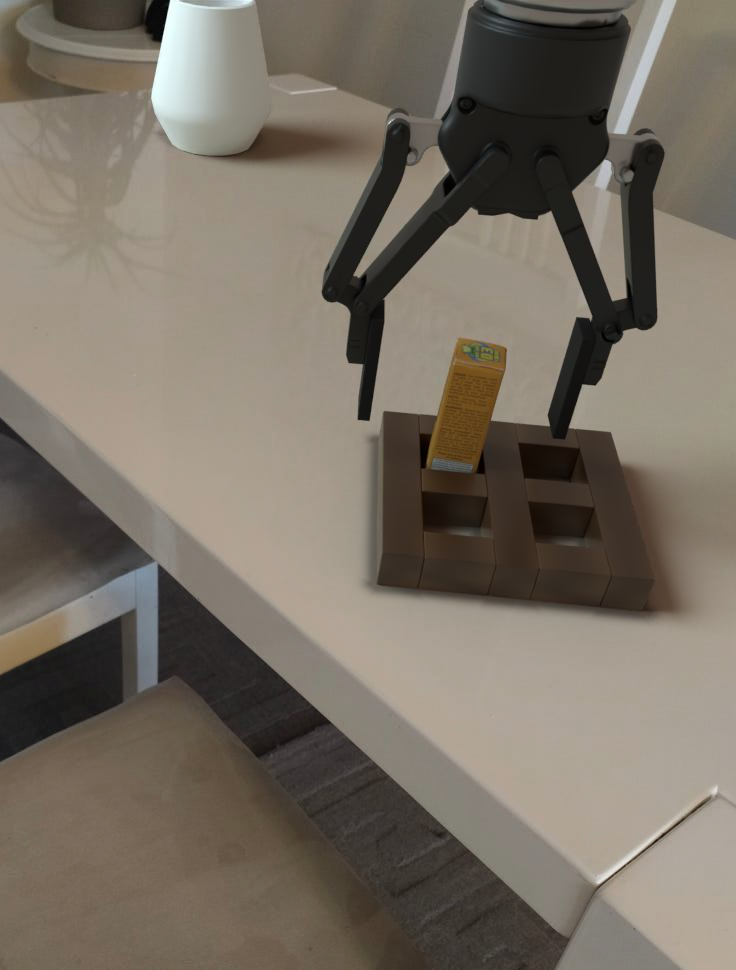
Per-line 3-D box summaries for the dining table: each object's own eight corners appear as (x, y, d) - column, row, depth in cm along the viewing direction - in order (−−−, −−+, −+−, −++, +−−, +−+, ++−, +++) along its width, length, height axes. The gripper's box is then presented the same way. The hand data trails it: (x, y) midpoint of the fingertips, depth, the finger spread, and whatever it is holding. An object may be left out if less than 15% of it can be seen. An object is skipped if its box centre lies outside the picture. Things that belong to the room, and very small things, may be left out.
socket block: (598, 469, 67) (611, 431, 65) (638, 619, 56) (655, 580, 54) (377, 448, 67) (383, 410, 65) (374, 592, 57) (381, 553, 54)
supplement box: (471, 510, 63) (507, 369, 56) (418, 501, 63) (447, 361, 56) (473, 481, 65) (508, 343, 58) (422, 473, 65) (450, 334, 58)
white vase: (127, 136, 110) (121, -9, 101) (217, 115, 117) (220, -23, 107) (204, 171, 104) (205, 19, 94) (294, 147, 110) (304, 3, 101)
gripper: (291, 2, 43) (264, 432, 58) (838, 46, 42) (664, 471, 57) (302, -32, 48) (275, 370, 63) (787, 6, 47) (640, 404, 62)
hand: (459, 418), depth 60 cm, fingers open, 11 cm apart
